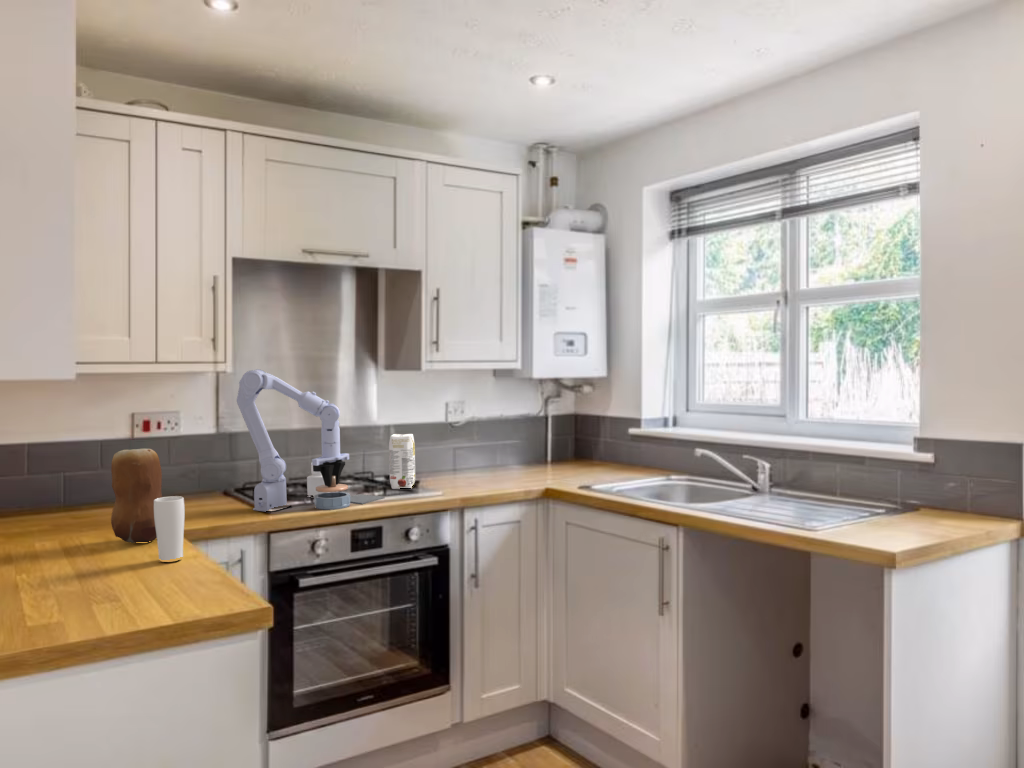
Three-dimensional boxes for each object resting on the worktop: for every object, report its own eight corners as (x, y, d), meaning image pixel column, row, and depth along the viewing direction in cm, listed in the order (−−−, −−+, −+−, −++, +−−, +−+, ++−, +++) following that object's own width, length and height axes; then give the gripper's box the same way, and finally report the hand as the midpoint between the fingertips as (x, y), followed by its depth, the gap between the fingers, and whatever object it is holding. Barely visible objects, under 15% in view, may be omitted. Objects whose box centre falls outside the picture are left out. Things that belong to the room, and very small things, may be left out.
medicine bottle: (334, 493, 268) (333, 459, 268) (327, 497, 261) (326, 462, 260) (314, 493, 269) (313, 459, 268) (307, 497, 262) (306, 462, 261)
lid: (332, 493, 240) (331, 479, 240) (308, 490, 245) (308, 476, 245) (354, 487, 249) (354, 474, 248) (331, 485, 254) (331, 472, 254)
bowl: (332, 511, 240) (332, 499, 240) (307, 507, 245) (307, 496, 245) (357, 504, 249) (356, 493, 249) (332, 501, 255) (331, 490, 254)
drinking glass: (191, 560, 187) (189, 498, 186) (163, 566, 182) (160, 502, 181) (178, 555, 192) (176, 494, 191) (150, 561, 187) (148, 499, 186)
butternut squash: (142, 534, 213) (138, 444, 212) (180, 538, 208) (177, 445, 207) (99, 547, 200) (95, 450, 199) (138, 551, 196) (134, 452, 194)
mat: (361, 504, 249) (361, 502, 249) (336, 501, 255) (336, 499, 255) (384, 498, 259) (384, 496, 259) (359, 495, 265) (359, 493, 265)
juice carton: (413, 489, 273) (412, 435, 272) (388, 489, 273) (387, 436, 272) (416, 485, 281) (415, 433, 280) (392, 485, 281) (391, 433, 280)
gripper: (323, 445, 238) (324, 489, 239) (356, 440, 250) (356, 482, 251) (306, 444, 242) (307, 487, 242) (339, 439, 254) (340, 480, 255)
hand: (331, 485), depth 247 cm, fingers closed on lid, 3 cm apart
